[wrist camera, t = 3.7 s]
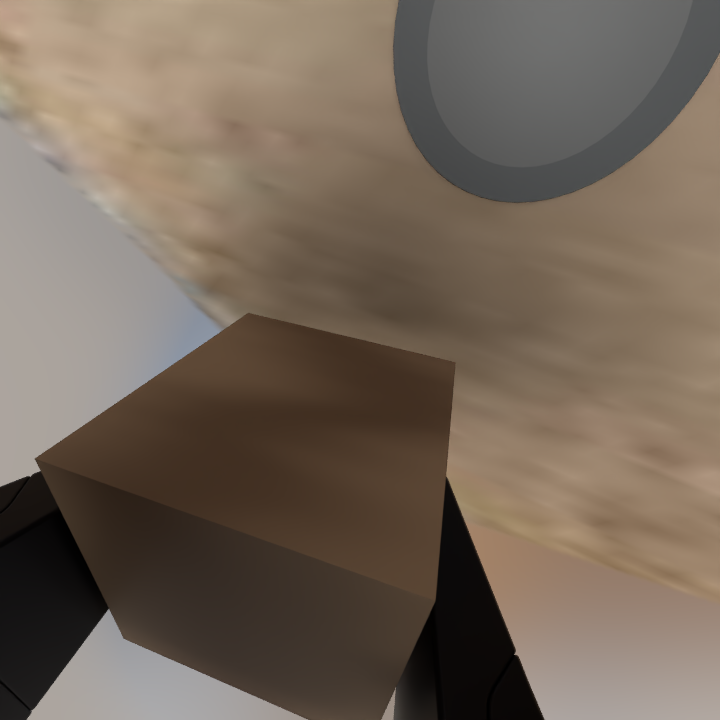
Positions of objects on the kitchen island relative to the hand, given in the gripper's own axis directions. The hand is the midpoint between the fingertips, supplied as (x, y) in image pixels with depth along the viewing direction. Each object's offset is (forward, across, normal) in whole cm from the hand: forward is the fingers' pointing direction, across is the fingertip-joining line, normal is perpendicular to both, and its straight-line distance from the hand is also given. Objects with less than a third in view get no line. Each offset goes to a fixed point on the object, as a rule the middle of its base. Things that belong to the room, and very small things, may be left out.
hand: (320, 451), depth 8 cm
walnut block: (+1, 0, 0) cm, 1 cm away
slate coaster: (+10, -3, -10) cm, 15 cm away
